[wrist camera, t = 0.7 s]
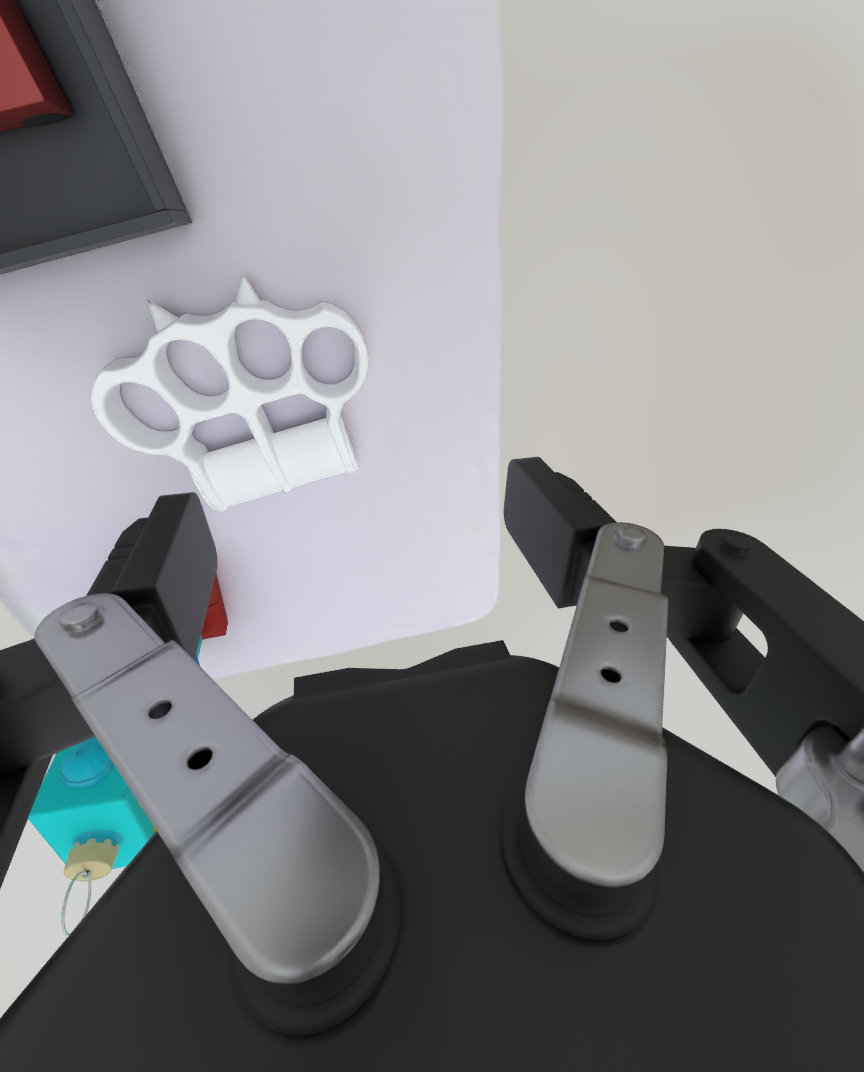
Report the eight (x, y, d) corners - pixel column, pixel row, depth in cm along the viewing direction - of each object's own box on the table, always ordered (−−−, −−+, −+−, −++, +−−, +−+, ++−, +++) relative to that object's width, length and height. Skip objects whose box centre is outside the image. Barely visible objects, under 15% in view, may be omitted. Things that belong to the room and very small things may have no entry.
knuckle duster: (182, 510, 38) (60, 321, 29) (393, 447, 39) (336, 246, 30) (173, 532, 35) (35, 331, 26) (400, 464, 36) (339, 249, 28)
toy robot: (231, 634, 46) (172, 957, 26) (163, 641, 45) (46, 988, 24) (207, 537, 40) (105, 866, 19) (128, 542, 38) (-70, 900, 18)
